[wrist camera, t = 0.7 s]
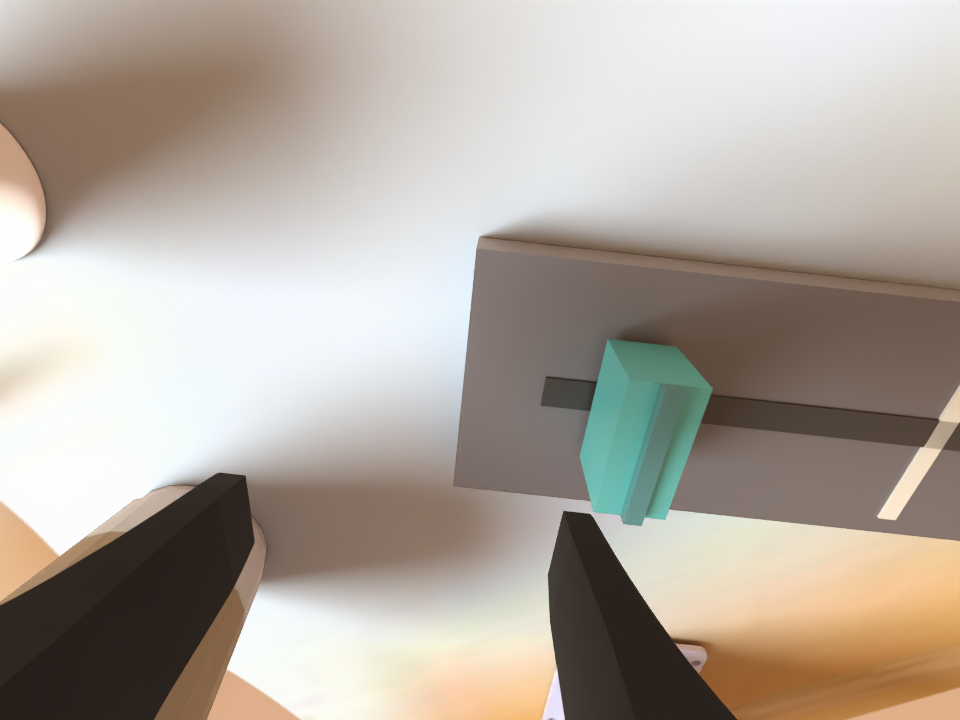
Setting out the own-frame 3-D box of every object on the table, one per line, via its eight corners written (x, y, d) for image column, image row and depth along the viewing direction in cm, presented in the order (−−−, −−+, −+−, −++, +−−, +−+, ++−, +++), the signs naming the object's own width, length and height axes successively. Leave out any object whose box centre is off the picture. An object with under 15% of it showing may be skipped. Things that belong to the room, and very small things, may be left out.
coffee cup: (113, 596, 26) (-293, 1070, 13) (64, 432, 22) (-669, 921, 8) (310, 622, 27) (114, 1114, 13) (306, 466, 22) (-11, 995, 8)
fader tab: (640, 463, 18) (669, 528, 15) (579, 456, 18) (595, 521, 15) (676, 346, 16) (718, 395, 13) (607, 338, 16) (633, 386, 13)
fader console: (972, 512, 21) (1018, 548, 19) (457, 456, 21) (453, 487, 19) (1123, 308, 17) (1201, 329, 15) (479, 237, 17) (476, 249, 15)
